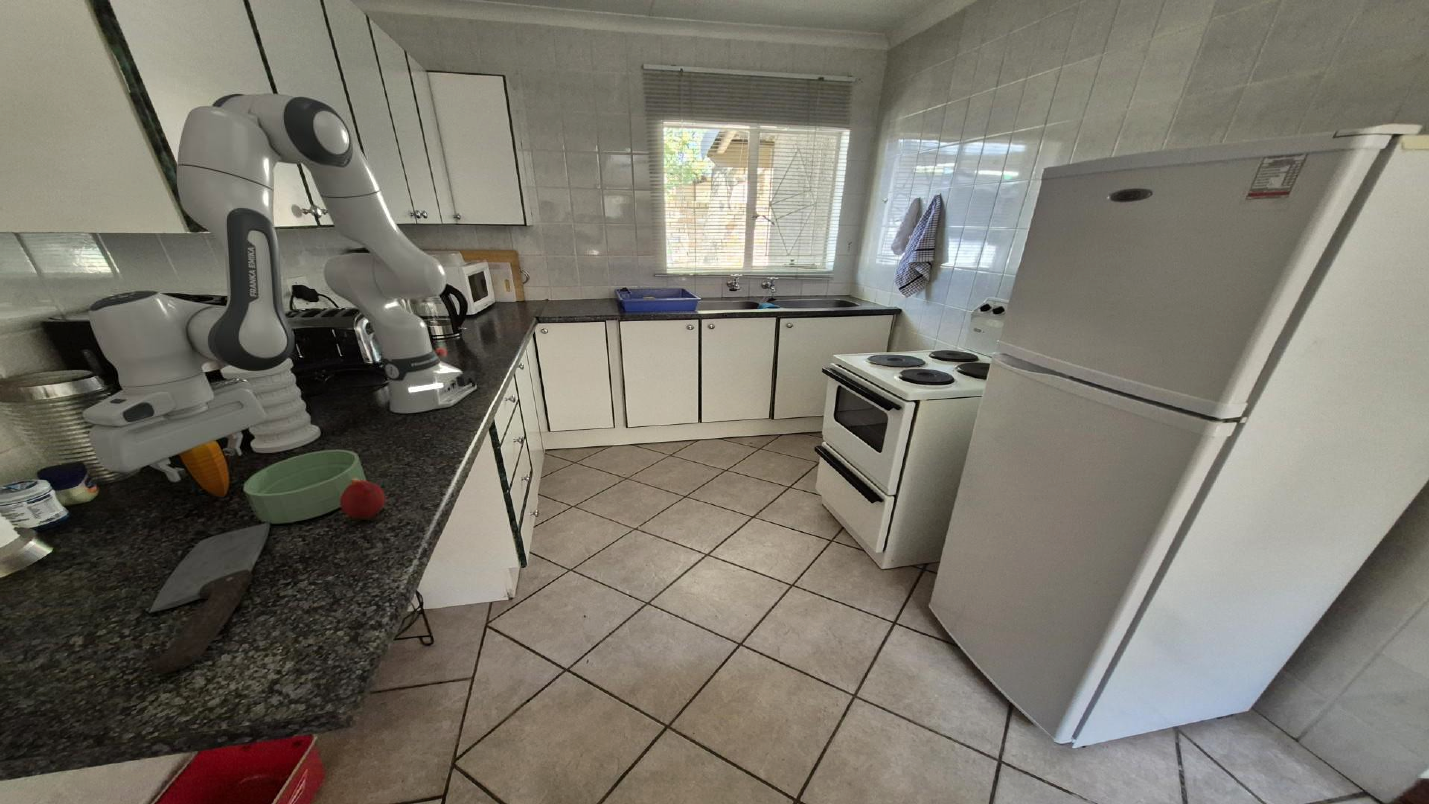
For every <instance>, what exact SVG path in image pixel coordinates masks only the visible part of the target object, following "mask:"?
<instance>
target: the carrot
mask: <svg viewBox="0 0 1429 804" xmlns="http://www.w3.org/2000/svg"><path fill="white" fill-rule="evenodd" d="M178 456H179V457H180V459H181V461H182V462H183V464H184V466H185V467H186V469H187V470H188V472H189V474H190V475H191V476H192V477H193V479H194V480H195V481H196V482H197V483H198V485H200V486H201V487H202V489H204V490H205V491H206V492H208V493H209V494H211V495H213V496H215V497H216V498H221V499H223V498H225V496H226V495H227V493H228V490H229V486H230V475H229V469H228V463H227V461H226V459H225V458H226V457H225V455H224V453H223V450H222V449H221V446H220V445H219V443H218V442H217V440H215V441H212V442H208V443H204V444H202V445H200V446H198V447H196V448H193V449H191V450H188V451H185V452H182V453H180V454H178Z"/></svg>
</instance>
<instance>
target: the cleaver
mask: <svg viewBox="0 0 1429 804" xmlns="http://www.w3.org/2000/svg"><path fill="white" fill-rule="evenodd" d="M270 529H271V523H267V522H263V523H260V524H257V525H252V526H248V527H244V528H239V529H236V530H232V531H228V532H224V533H219V534H215V535H213V536H210V537H208V538H205V539H202V540H200V541H198V542H197V544H195V546H194V547H193V548H192V549H191V550H189V552H188V553H187V554H186V555H185V556H184V558H183V559H182V560H181V561H180V562H179V563H178V565H177V566H176V567H175V569H174V570H173V571H172V573H171V574H170V575H169V577H168V578H167V579H166V581H165V582H164V584H163V585H162V587H161V589H160V590H159V592H158V594H157V596H156V597H155V599H154V601H153V603H152V604H151V607H150V610H149V611H148V613H149V614H151V613H154V612H159V611H165V610H168V609H172V608H176V607H180V606H181V605H185V604H187V603H190V602H193V601H196V600H199V599H202V600H206V601H205V602H204V603H203V604H201V606H200V607H199V608H197V609H196V610H195V611H194V612H193V613H192V614H191V615H190V617H189V618H188V619H187V620H186V621H185V623H184V625H183V627H182V629H181V632H180V633H179V635H178V637H177V638H176V640H175V641H174V642H172V644H171V645H170V646H169V647H168V648H167V649H166V650H165V651H164V652H163V653H162V654H161V655H160V656H159V657H158V658H157V659H156V661H154V663H153V664H152V666H151V669H152V671H153V673H155V674H156V675H159V676H161V675H166V674H169V673H173V672H177V671H179V670H182V669H185V668H187V667H189V666H191V665H193V664H194V663H195V662H196V661H198V659H199V658H200V657H201V656H202V655H203V654H204V653H205V651H206V650H207V649H208V647H209V646H210V645H211V644H212V643H213V641H214V640H215V638H216V637H217V635H218V634H219V633H220V631H221V630H222V629H223V627H224V625H225V624H226V623H227V621H228V620H229V618H230V617H231V616H232V614H233V613H234V611H235V610H236V609H237V607H238V605H239V604H240V602H241V600H242V599H243V597H244V596H245V594H246V592H247V590H248V588H249V586H250V583H251V582H252V579H253V577H254V576H253V573H252V571H253V569H254V566H255V564H256V563H257V560H258V558H259V557H260V554H261V553H262V551H263V549H264V546H265V545H266V542H267V539H268V537H269V533H270Z"/></svg>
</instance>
